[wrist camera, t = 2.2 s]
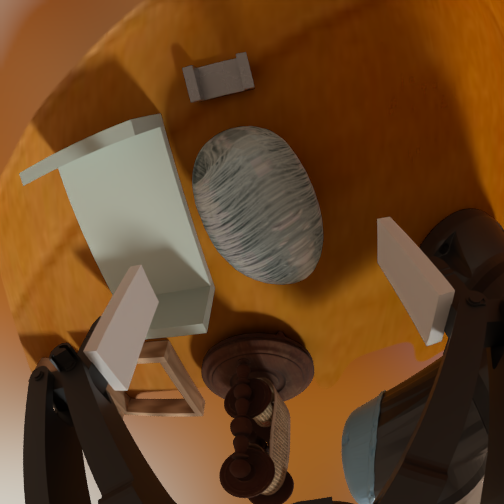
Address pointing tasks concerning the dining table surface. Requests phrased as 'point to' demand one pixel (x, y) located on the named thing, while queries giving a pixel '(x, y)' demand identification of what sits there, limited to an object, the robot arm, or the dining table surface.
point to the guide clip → (218, 78)
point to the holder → (137, 218)
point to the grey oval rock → (258, 205)
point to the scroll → (258, 409)
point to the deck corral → (178, 375)
